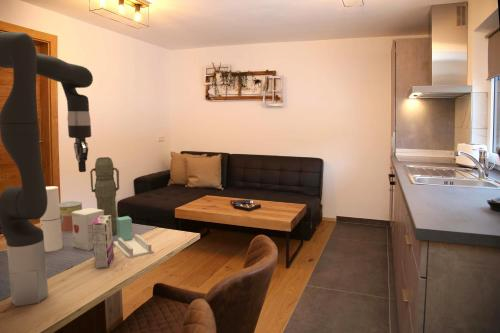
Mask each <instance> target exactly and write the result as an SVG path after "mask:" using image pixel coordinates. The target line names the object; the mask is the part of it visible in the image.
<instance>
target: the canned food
mask: <svg viewBox="0 0 500 333" xmlns="http://www.w3.org/2000/svg"><path fill="white" fill-rule="evenodd" d="M82 204H83V203H82V201H74V200H73V201H65V202H64V201H63V202H59V206H60V220H61V233H73V225H72V212H74V211H78V210H82V209H83V205H82Z"/></svg>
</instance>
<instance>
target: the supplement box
mask: <svg viewBox="0 0 500 333" xmlns="http://www.w3.org/2000/svg"><path fill="white" fill-rule="evenodd" d="M101 215H102V216H103V215H104V210H100V209H97V208H94V207H86V208H82V210H78V211H74V212H72V225H73V231H72V237H73V248H77V249H80V250H84V251H91V250H94V245H93V232H92V224H93V222H94V221H95V220H96V218H97V217H98V216H101Z"/></svg>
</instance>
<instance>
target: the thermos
mask: <svg viewBox="0 0 500 333" xmlns="http://www.w3.org/2000/svg"><path fill="white" fill-rule="evenodd" d="M119 171H120V170H119V169H118V168H117V167H114V163H113V160H112V158H111V157H109V156H108V157H107V156H106V157H105V156H104V157H103V156H102V157H98V158H96V160H95V164H94V168H91V170H90V171H89V173H90V175H89V176H90V187H91V188H90V189H91V192H92V193H94V196H95V199H96V209H100V210H104V215H111V223H112V237H115V236H117V225H116V218H117V204H116V197H117V192H118V190H120V172H119ZM93 172H95V182H94V179H93V178H94V177H93ZM114 172H116V174H115V173H114ZM114 174H115V175H116V182H115V177H114Z"/></svg>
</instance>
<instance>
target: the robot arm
mask: <svg viewBox="0 0 500 333" xmlns="http://www.w3.org/2000/svg"><path fill="white" fill-rule="evenodd" d="M35 44H36V43H35V41H34V40H33V38H32V37H31V35H29V34H28V33H27V32H23V31H3V32H0V68H3V69H13V70H12V71H13V72H12V73H13V74H12V75H13V76H12V77H13V79H12V82H13V83H12V86H11V90H10V92H9V95H8V97H7V98H6V100H5V102H4V104H3V105H2V108H1V109H0V140H1V143H2V145H3V147H4V149H5V151H6V152H7V154H8V155H9V157H10V158H11V159H12V161H13V163H14V164H15V165H16V167H17V169H18V172H19V176H20V180H21V182H20V183H21V186H8V187H6V188H5V189H3V191H1V194H0V227H1V228H0V229H1V234H2V236H3V238H4V239H5V243H6V252H7V262H8V263H7V264H8V275H9V284H10V285H9V286H10V294H11V296H10V297H11V303H12V304H14V307H19V306H20V307H21V306H26V305H34V304H38V303H39V304H40V302H41V301H42V300H45V299H46V298H47V297H48V295H49V287H48V286H49V285H48V276H47V275H48V273H47V263H46V261H47V260H46V251H45V247H44V234H43V231H42V229H41V227H38V226H37V225H35V224H33V223H32V222H31V220H32V221H33V220H35V221H36V220H40V218H41V217H42V216H43V215H44V214H45V212H46V209H47V191H46V187H47V185H46V182H45V175H44V171H43V164H42V155H41V154H42V152H41V142H40V124H39V123H40V122H39V115H38V103H37V102H38V100H37V75H38V76H42V77H45V78H47V79H50V80H52V81H55V82H59V83H60V84H61V87H62V90H63V92H64V96H65V99H66V103H67V104H66V105H67V130H68V131H67V132H68V138H70V139H74V142H73V149H74V153H75V159H76V161H77V166H78V172H80V173H86V171H87V168H86V166H87V164H86V162H87V160H88V155H89V145H88V142H87V140H86V139H87V138H92V126H91V123H92V122H91V116H90V115H91V114H90V104H89V102H90V101H89V97H88V96H87V95H84V94H80V93H78V91H77V89H81V88H82V89H83V88H85V89H86V88H88V87H90V86H91V85H92V84H93V82H94V77H93V74H92V71H90V70H89V69H88V68H87V67H86V66H85V67H84V66H82V65H77V64H73V63H68V62H66V61H64V60H62V59H60V58H57V57H54V56H53V55H49V54H43V53H39V52H37V47H36V45H35Z"/></svg>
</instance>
